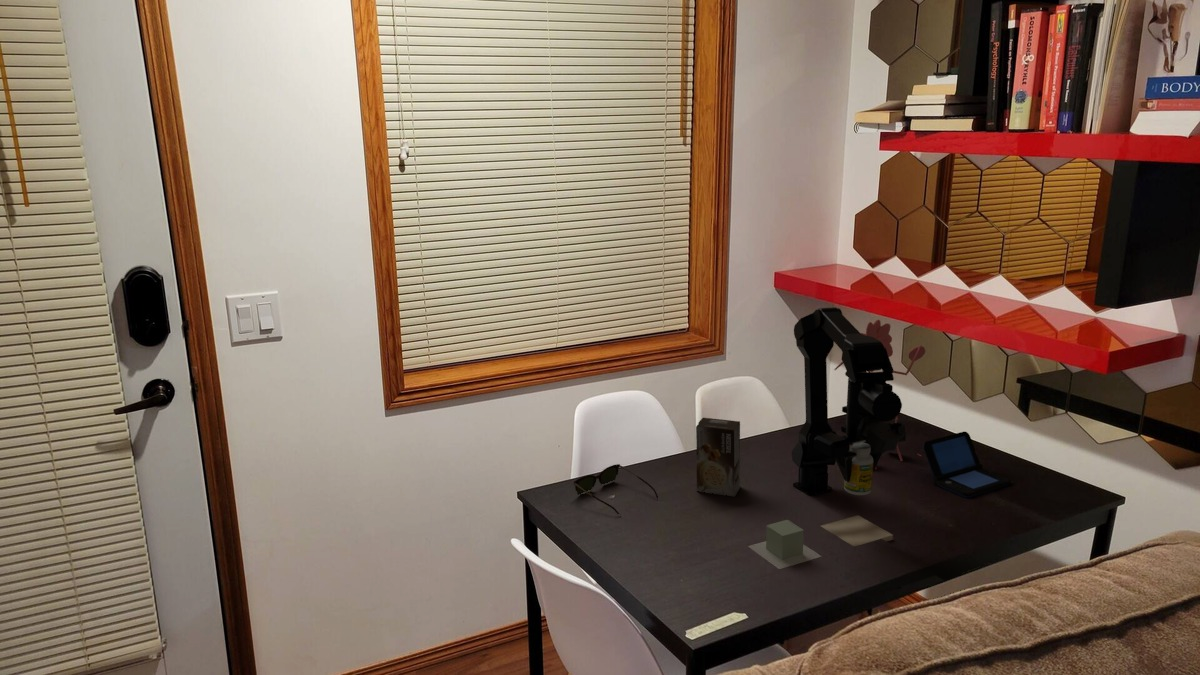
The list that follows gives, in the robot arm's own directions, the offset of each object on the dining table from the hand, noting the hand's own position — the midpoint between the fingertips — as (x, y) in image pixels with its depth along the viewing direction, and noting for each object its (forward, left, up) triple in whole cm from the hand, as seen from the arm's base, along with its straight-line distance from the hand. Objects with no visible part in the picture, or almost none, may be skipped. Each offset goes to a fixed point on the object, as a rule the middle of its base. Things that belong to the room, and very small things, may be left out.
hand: (858, 478), depth 169 cm
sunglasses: (-38, -34, -13) cm, 53 cm away
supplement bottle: (0, 0, -3) cm, 3 cm away
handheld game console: (-8, +40, -13) cm, 43 cm away
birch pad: (0, 0, -12) cm, 12 cm away
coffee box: (-32, -12, -13) cm, 36 cm away
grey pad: (0, -18, -12) cm, 22 cm away
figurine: (-30, +31, -13) cm, 45 cm away
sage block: (0, -18, -11) cm, 21 cm away
